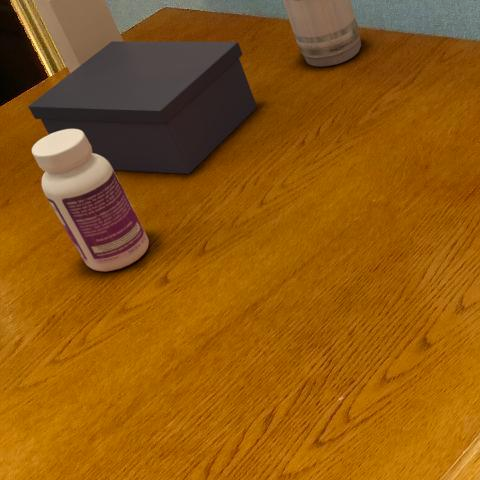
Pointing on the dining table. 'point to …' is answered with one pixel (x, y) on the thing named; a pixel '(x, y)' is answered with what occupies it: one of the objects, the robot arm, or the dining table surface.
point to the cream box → (78, 28)
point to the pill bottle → (89, 201)
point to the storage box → (152, 103)
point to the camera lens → (324, 30)
